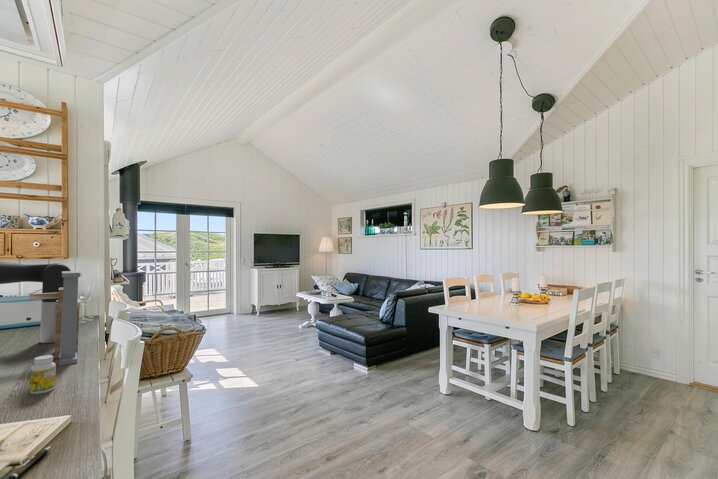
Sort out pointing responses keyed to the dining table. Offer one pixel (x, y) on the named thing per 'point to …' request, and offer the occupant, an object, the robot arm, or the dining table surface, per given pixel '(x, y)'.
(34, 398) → the dining table surface
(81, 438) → the dining table surface
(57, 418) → the dining table surface
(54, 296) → the mallet
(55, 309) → the robot arm
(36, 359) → the supplement bottle
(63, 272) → the stand
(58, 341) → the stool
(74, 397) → the dining table surface
